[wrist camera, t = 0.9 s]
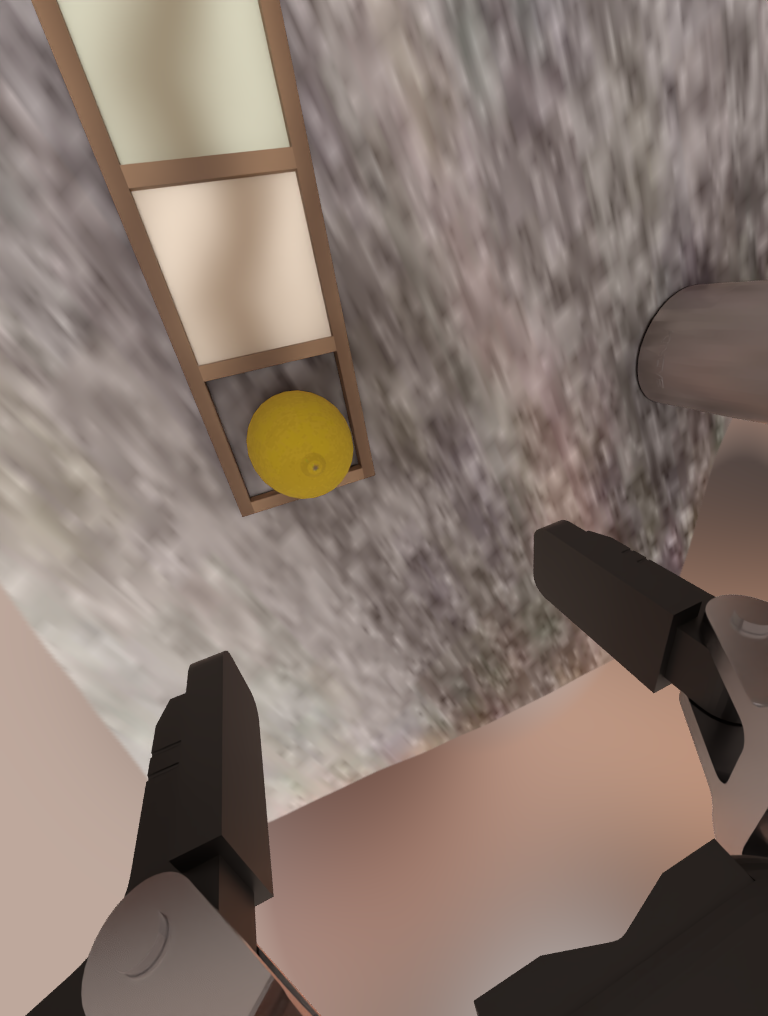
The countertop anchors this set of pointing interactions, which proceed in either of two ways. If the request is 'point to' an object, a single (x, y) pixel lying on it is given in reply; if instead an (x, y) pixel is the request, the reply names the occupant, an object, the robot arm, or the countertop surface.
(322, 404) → the lemon
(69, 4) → the board
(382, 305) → the countertop surface
